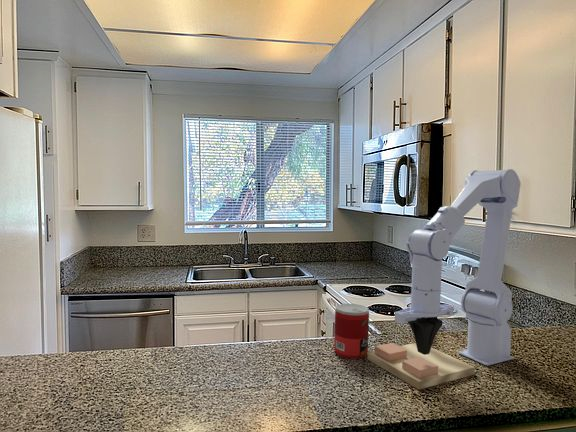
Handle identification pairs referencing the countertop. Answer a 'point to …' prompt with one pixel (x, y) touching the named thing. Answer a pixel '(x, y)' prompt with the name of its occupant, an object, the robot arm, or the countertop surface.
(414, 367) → the tile
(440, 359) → the board
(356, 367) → the countertop surface
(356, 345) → the canned food
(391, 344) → the tile
